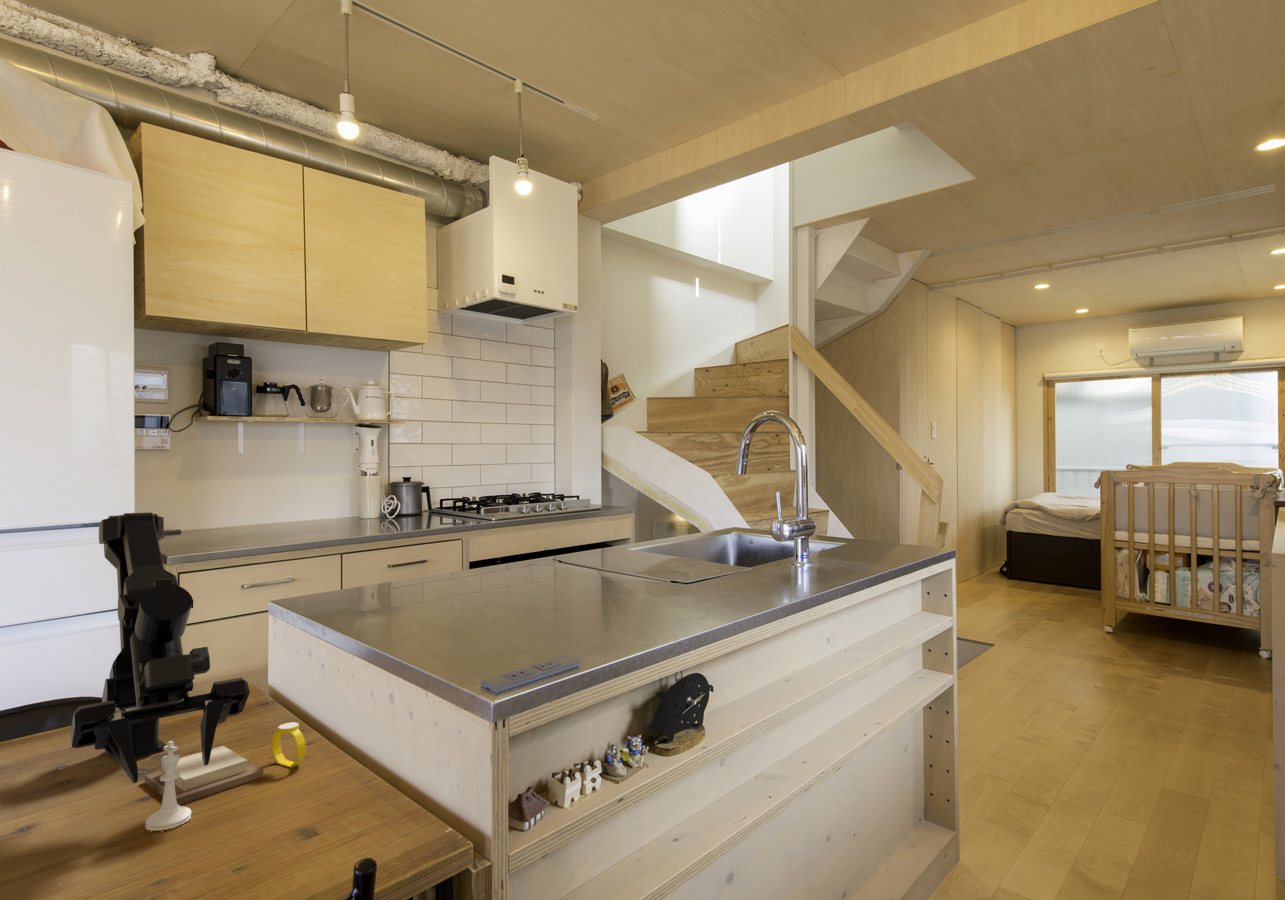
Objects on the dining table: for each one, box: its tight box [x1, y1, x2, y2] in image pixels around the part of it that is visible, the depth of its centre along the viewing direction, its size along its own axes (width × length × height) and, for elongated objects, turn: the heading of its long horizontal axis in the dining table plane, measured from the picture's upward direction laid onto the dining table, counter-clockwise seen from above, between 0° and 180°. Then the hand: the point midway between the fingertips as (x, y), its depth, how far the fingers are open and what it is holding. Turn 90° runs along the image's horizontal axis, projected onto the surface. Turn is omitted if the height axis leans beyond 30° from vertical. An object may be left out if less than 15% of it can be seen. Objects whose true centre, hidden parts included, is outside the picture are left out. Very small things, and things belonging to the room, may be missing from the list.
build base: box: [144, 745, 264, 806], centre depth 100 cm, size 11×11×2 cm
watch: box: [270, 721, 307, 769], centre depth 105 cm, size 6×3×6 cm, turn 64°
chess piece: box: [144, 740, 192, 830], centre depth 88 cm, size 5×5×10 cm
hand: (172, 772), depth 87 cm, fingers open, 7 cm apart
